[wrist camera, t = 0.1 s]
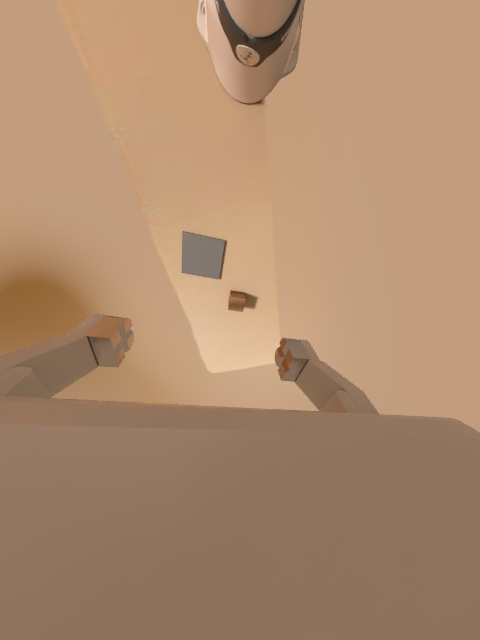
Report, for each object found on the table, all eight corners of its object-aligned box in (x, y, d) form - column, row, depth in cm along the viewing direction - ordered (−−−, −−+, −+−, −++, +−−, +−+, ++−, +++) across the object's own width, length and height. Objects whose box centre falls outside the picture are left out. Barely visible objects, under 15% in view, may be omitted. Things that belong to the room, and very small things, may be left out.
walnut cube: (230, 290, 60) (231, 296, 56) (244, 292, 61) (245, 299, 57) (228, 302, 63) (228, 309, 59) (241, 304, 64) (242, 311, 60)
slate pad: (183, 231, 49) (182, 231, 48) (225, 240, 51) (225, 240, 50) (182, 272, 55) (181, 272, 55) (219, 278, 57) (219, 279, 57)
